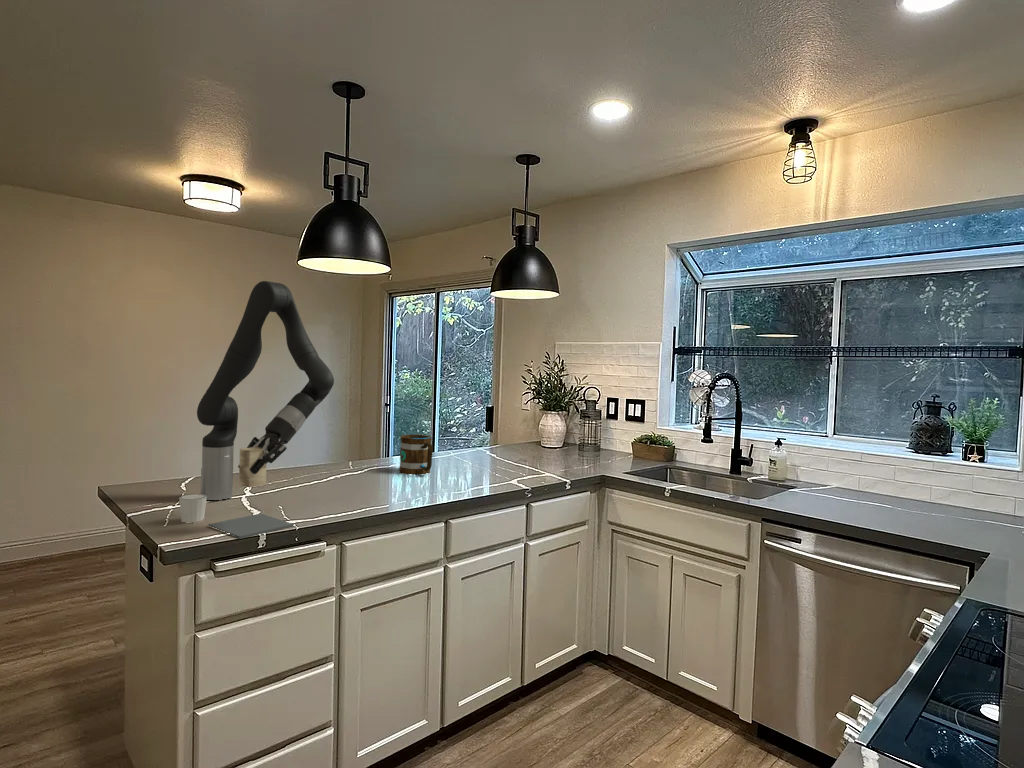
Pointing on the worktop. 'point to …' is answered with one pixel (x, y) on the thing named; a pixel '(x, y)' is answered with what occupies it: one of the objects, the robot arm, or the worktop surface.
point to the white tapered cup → (192, 507)
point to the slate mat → (251, 525)
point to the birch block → (246, 461)
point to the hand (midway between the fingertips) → (246, 470)
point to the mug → (415, 454)
